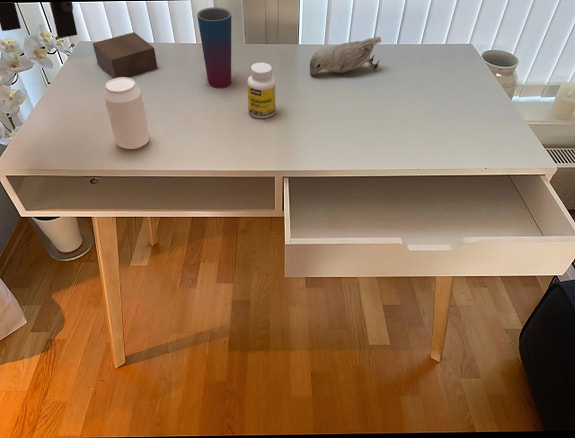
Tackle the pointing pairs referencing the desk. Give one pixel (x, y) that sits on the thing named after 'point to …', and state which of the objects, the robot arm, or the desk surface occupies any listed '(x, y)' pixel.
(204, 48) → the cup
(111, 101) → the beverage can
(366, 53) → the decorative bird
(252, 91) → the supplement bottle
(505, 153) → the desk surface
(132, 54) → the walnut block
